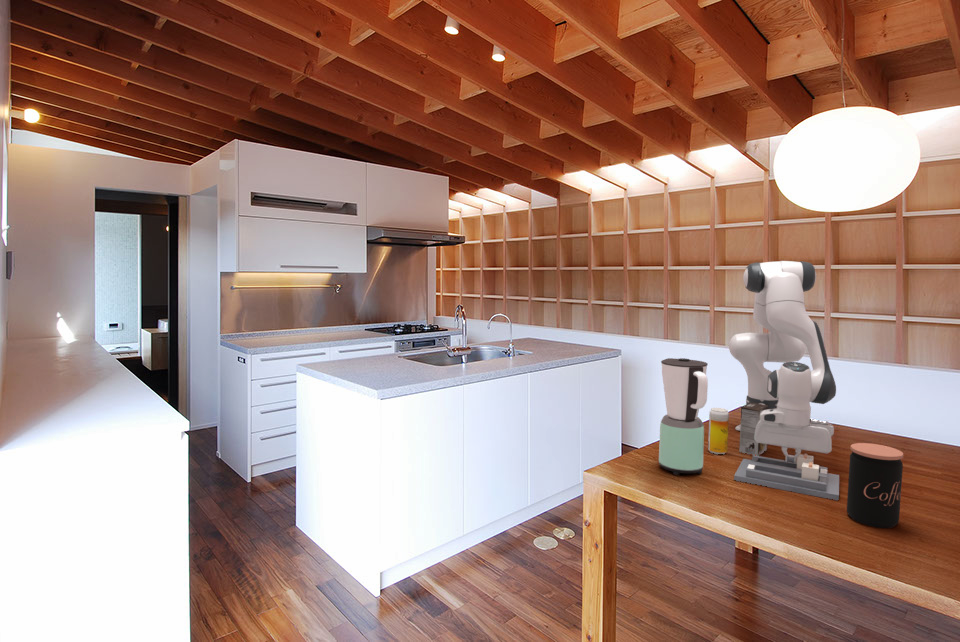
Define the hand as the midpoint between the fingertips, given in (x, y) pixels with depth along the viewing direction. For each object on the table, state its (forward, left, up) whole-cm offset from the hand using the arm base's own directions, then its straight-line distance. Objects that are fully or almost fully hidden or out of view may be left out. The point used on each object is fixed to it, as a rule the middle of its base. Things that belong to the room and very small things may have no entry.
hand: (790, 461), depth 164 cm
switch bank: (+4, -1, -5) cm, 6 cm away
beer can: (-12, -23, -5) cm, 26 cm away
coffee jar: (+22, +19, -5) cm, 30 cm away
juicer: (+13, -29, -5) cm, 32 cm away
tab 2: (+8, +5, -3) cm, 10 cm away
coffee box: (-20, -13, -5) cm, 24 cm away
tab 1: (0, +4, -3) cm, 5 cm away
